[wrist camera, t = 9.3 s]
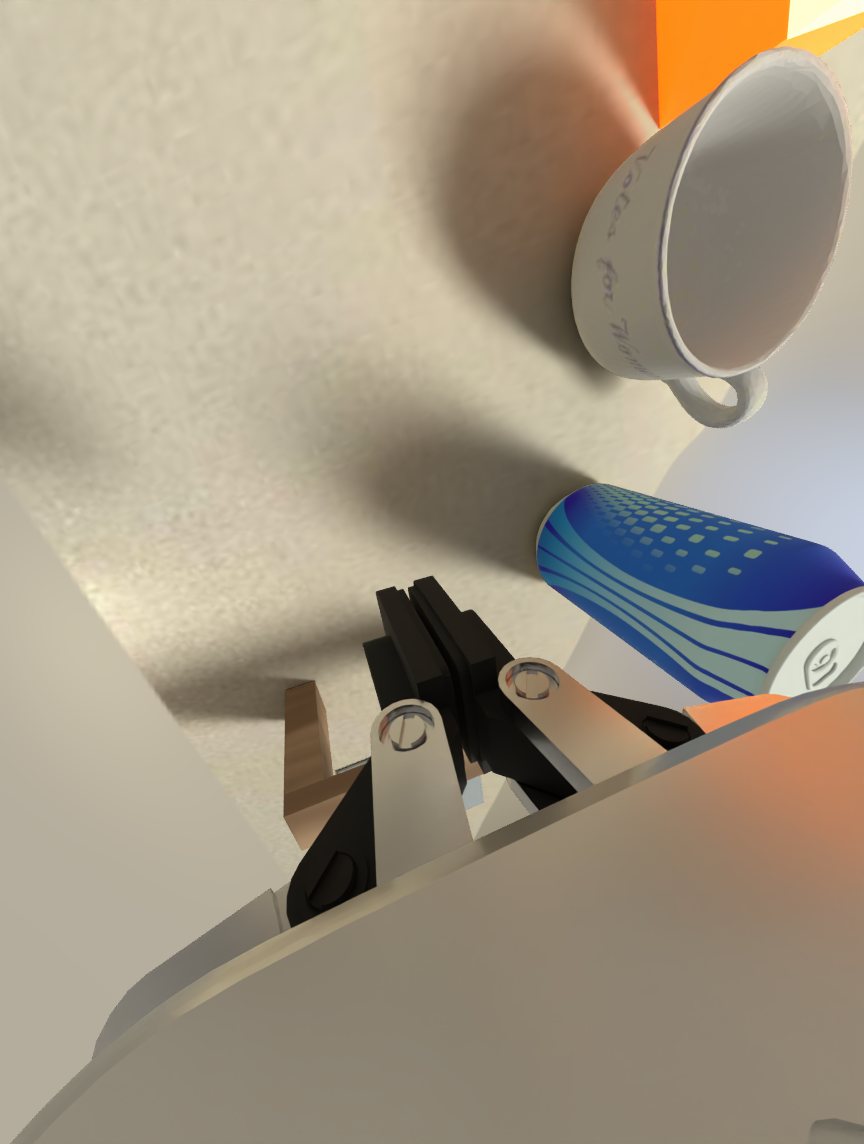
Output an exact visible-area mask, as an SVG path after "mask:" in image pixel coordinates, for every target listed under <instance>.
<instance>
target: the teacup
mask: <svg viewBox="0 0 864 1144" xmlns="http://www.w3.org/2000/svg"><path fill="white" fill-rule="evenodd" d="M852 156H853V149H852V135H851V125H850V122H849V119H848V110H847V105H846V100H845V98H844V95H843V93H842V90H841V87H840V84H839V83H838V81H837V79H836V77H835V75H834V73H833V72H832V71H831V69H830V68H829V66H828V65H827V64H826V63H825V62H824V61H823V60H822V59H821V58H819V57H818V56H816V55H815V54H813V53H812V52H810V51H808V50H805V49H800V48H795V47H790V46H783V47H777V48H772V49H768V50H765V51H762V52H760V53H758V54H756V55H754V56H753V57H751V58H750V59H748V60H747V61H746V62H744V63H743V64H741V65H740V66H739V67H737V68H736V69H735V70H734V71H732V72H731V73H730V74H729V75H728V76H727V77H726V78H725V79H724V80H723V81H722V82H721V83H720V84H719V86H718V87H717V88H716V89H715V90H713V91H712V92H710V93H709V94H708V95H706V96H705V97H704V98H702V99H701V100H700V101H698V102H697V103H695V104H694V105H693V106H691V107H690V108H689V109H687V110H686V111H685V112H683V113H682V114H680V115H679V116H678V117H677V118H675V119H674V120H673V121H671V122H670V123H669V124H667V125H666V126H665V127H664V128H662V129H661V130H660V131H658V132H657V133H656V134H655V135H653V136H652V137H651V138H650V139H648V140H647V141H646V142H645V143H644V144H642V145H641V146H640V147H639V148H638V149H637V150H636V151H635V152H633V153H632V154H631V155H630V156H629V157H628V158H627V159H626V160H625V161H624V162H623V163H622V164H621V165H620V166H619V167H618V168H617V169H616V171H615V172H614V173H613V174H612V175H611V177H610V178H609V179H608V180H607V182H606V183H605V185H604V186H603V188H602V189H601V191H600V192H599V194H598V195H597V197H596V198H595V200H594V202H593V204H592V206H591V208H590V210H589V212H588V214H587V216H586V219H585V221H584V223H583V226H582V229H581V232H580V235H579V238H578V242H577V246H576V250H575V254H574V260H573V267H572V280H571V295H572V306H573V313H574V318H575V322H576V325H577V328H578V331H579V334H580V337H581V339H582V341H583V343H584V345H585V347H586V349H587V350H588V351H589V353H590V354H591V356H592V357H593V358H594V359H595V360H596V361H597V362H598V363H599V364H600V365H601V366H602V367H603V368H605V369H606V370H608V371H610V372H612V373H614V374H616V375H618V376H621V377H625V378H629V379H637V380H661V381H663V382H664V383H666V384H667V385H668V386H669V387H670V389H671V391H672V392H673V394H674V395H675V397H676V398H677V399H678V401H679V402H680V404H681V405H682V407H683V408H684V409H685V410H686V412H687V413H688V414H689V415H690V416H691V417H692V418H694V419H695V420H696V421H698V422H699V423H701V424H703V425H705V426H708V427H712V428H727V427H732V426H735V425H738V424H740V423H742V422H744V421H746V420H747V419H748V418H750V417H751V416H752V415H753V414H755V413H756V412H757V411H758V410H759V408H760V407H761V406H762V405H763V403H764V401H765V399H766V397H767V390H768V384H767V380H766V376H765V374H764V372H763V371H762V369H761V368H760V367H759V365H761V364H762V363H763V362H764V361H766V360H767V359H769V358H770V357H771V356H772V355H774V354H775V353H776V352H777V351H778V350H779V349H780V348H781V347H782V346H783V345H784V343H786V342H787V341H788V339H789V338H790V337H791V335H792V334H793V333H794V332H795V331H796V330H797V328H798V327H799V326H800V324H801V323H802V321H803V320H804V319H805V317H806V316H807V314H808V313H809V311H810V310H811V308H812V306H813V304H814V302H815V300H816V298H817V297H818V294H819V293H820V290H821V288H822V285H823V283H824V281H825V279H826V277H827V275H828V272H829V270H830V268H831V265H832V263H833V260H834V256H835V252H836V250H837V247H838V244H839V241H840V237H841V233H842V230H843V226H844V221H845V216H846V212H847V207H848V202H849V196H850V189H851V179H852ZM703 376H707V377H711V378H721V379H723V380H725V381H726V382H728V383H729V384H730V385H732V387H733V388H734V389H735V390H736V392H737V397H738V403H737V405H736V406H733V407H729V406H725V405H721V404H719V403H717V402H716V401H715V400H713V399H712V398H711V397H710V396H709V395H708V394H707V393H706V392H705V391H704V390H703V388H702V387H701V386H700V385H699V383H698V381H697V380H696V378H695V377H703Z"/></svg>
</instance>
